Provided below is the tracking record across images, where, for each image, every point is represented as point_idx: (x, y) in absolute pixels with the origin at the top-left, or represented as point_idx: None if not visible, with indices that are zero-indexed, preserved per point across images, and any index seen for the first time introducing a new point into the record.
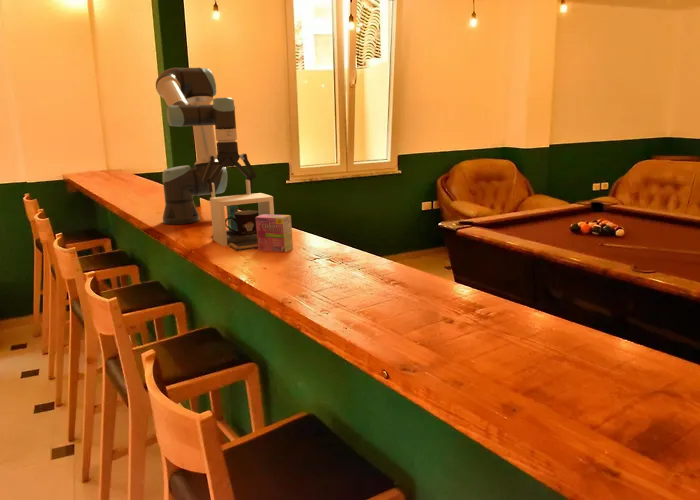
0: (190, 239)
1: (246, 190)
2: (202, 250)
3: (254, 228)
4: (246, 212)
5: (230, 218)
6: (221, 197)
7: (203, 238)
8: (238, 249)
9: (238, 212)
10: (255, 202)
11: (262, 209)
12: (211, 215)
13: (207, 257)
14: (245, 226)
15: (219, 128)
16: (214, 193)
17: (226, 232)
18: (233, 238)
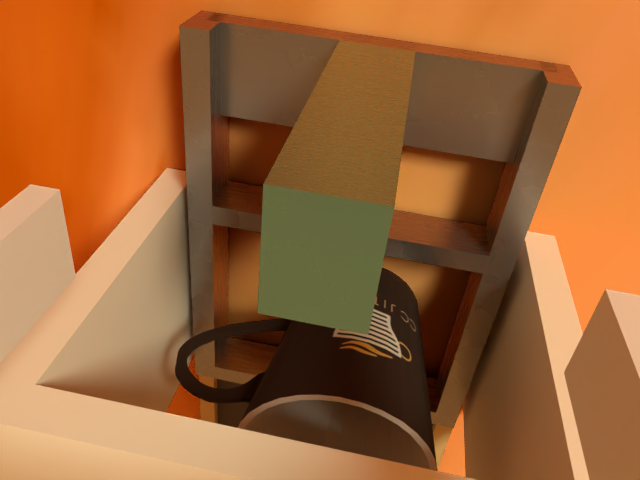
0: (15, 14)
1: (636, 372)
2: None
3: (366, 416)
4: (375, 400)
5: (211, 393)
6: (87, 476)
7: (112, 56)
8: None
9: (296, 395)
10: None
11: (517, 465)
12: (72, 282)
13: None
14: (303, 420)
15: None
16: (1, 350)
17: (243, 225)
18: (225, 375)
